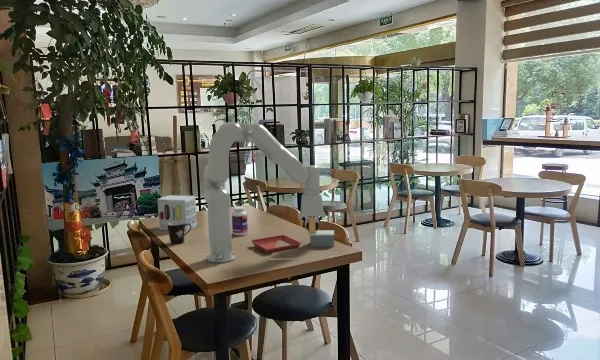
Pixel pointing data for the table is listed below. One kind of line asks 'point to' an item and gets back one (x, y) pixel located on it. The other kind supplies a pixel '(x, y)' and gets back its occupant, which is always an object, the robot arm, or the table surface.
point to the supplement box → (177, 211)
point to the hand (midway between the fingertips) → (312, 230)
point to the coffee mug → (177, 232)
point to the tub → (322, 241)
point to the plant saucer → (274, 243)
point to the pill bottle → (239, 221)
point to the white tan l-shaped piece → (319, 232)
